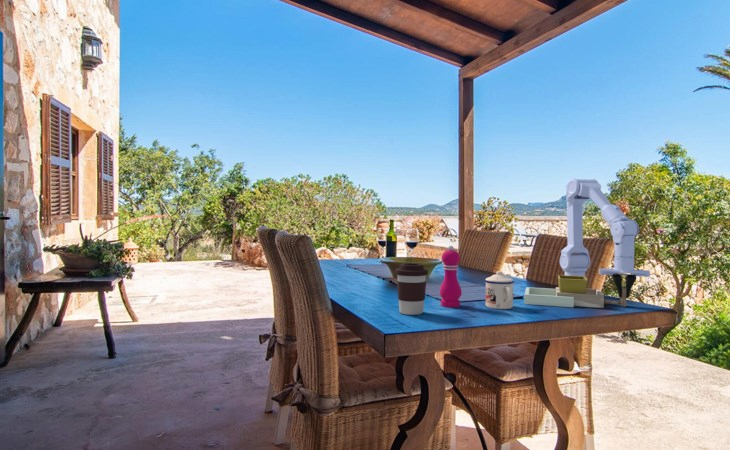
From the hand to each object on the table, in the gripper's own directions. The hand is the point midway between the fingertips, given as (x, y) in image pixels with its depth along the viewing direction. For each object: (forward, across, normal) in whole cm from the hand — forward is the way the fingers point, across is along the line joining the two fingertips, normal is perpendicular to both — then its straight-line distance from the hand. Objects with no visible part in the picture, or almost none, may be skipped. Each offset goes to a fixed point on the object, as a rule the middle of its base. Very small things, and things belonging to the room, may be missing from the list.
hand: (623, 297), depth 151 cm
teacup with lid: (+3, -38, -18) cm, 42 cm away
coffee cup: (+3, -62, -37) cm, 73 cm away
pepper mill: (+3, -54, -21) cm, 58 cm away
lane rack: (+3, -23, 0) cm, 23 cm away
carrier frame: (+3, -10, 0) cm, 10 cm away
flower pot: (+3, -16, -1) cm, 16 cm away
